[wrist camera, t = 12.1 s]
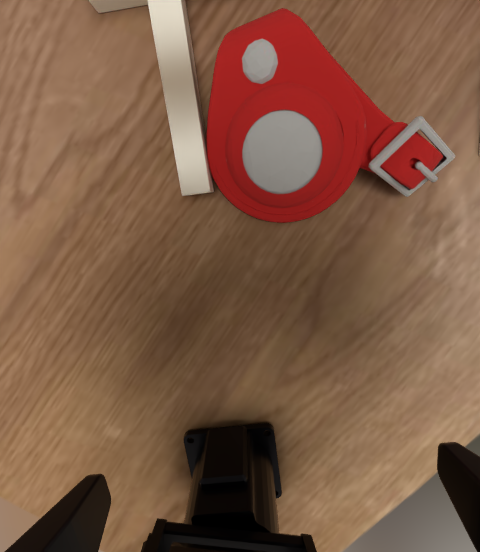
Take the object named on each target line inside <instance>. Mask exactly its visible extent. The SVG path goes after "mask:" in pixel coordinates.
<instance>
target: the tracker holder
mask: <svg viewBox="0 0 480 552" xmlns="http://www.w3.org/2000/svg"><path fill="white" fill-rule="evenodd" d="M419 129H420V130H421V131H422V132H423V133H424V134H425V135H426V136H427V138H428V139H429V140H430V141H431V142H432V143H433V144H434V145H435V147H436V148H437V149H438V150H439V151H440V152H441V153H442V154H441V153H440V152H439V151H438V150H437V149H436V148H435V147H434V146H433V145H431V144H430V143H429V142H428V141H427V140H426V139H424V138H423V137H422V136H421V135H420V134H418V133H417V132H416V131H417V130H419ZM207 158H208V164H209V168H210V171H211V174H212V177H213V179H214V181H215V182H216V184H217V186H218V187H219V189H220V191H221V192H222V193H223V194H224V196H225V197H226V198H227V199H228V200H229V201H230V202H231V203H232V204H233V205H234V206H235V207H237V208H239V209H240V210H242V211H243V212H245V213H247V214H249V215H251V216H252V217H255V218H258V219H261V220H265V221H270V222H280V223H285V222H294V221H299V220H303V219H307V218H309V217H311V216H314V215H316V214H318V213H320V212H322V211H323V210H325V209H327V208H328V207H329V206H331V205H332V204H333V203H334V202H336V201H337V200H338V199H339V198H340V197H341V196H342V195H343V194H344V192H345V191H346V190H347V189H348V187H349V186H350V185H351V183H352V181H353V180H354V178H355V176H356V174H357V172H358V170H359V168H362V169H365V170H368V171H370V172H373V173H375V174H377V175H378V176H380V177H381V178H382V179H384V180H385V181H386V182H387V183H389V184H390V185H391V186H393V187H394V188H395V189H396V190H398V191H399V192H400V193H402V194H403V195H404V196H406V197H407V196H410V195H411V194H412V193H413V192H414V191H416V190H417V189H418V188H419V187H421V186H422V185H423V184H424V183H425V182H427V181H428V180H430V181H431V182H435V181H437V179H438V178H437V176H436V175H435V174H436V173H437V172H439V171H440V170H441V169H442V168H443V167H445V166H446V165H447V164H448V163H449V162H451V161H452V160H453V159H454V158H455V155H454V153H453V152H452V151H451V150H450V149H449V148H448V146H447V145H446V144H445V143H444V142H443V140H442V139H441V138H440V137H439V136H438V135H437V133H436V132H435V131H434V130H433V129H432V128H431V126H430V125H429V124H428V123H427V122H426V121H425V119H424V118H423V117H422V116H418V117H416V118H415V119H414V120H413V121H412V122H411V123H410V124H409V125H408V124H406V123H403V122H396V123H395V122H393V121H392V120H391V119H390V118H389V117H388V116H386V115H385V114H384V113H383V112H382V111H380V110H379V109H378V107H377V106H376V105H375V104H374V103H373V102H372V101H371V100H370V98H369V97H368V96H367V95H366V94H365V93H364V92H363V91H362V89H361V88H360V87H359V86H358V85H357V84H356V83H355V82H354V80H353V79H352V78H351V77H350V76H349V75H348V74H347V73H346V72H345V70H344V69H343V68H342V67H341V66H340V65H339V64H338V63H337V61H336V60H335V59H334V58H333V57H332V56H331V55H330V54H329V52H328V51H327V50H326V49H325V47H324V46H323V45H322V43H321V42H320V41H319V40H318V38H317V37H316V36H315V34H314V33H313V32H312V30H311V29H310V28H309V27H308V26H307V25H306V23H305V22H304V21H303V20H302V19H301V18H300V17H299V16H297V15H295V14H294V13H292V12H291V11H289V10H287V9H283V8H282V9H279V10H277V11H275V12H272V13H270V14H268V15H265V16H263V17H261V18H258V19H256V20H254V21H251V22H249V23H247V24H244V25H242V26H240V27H237V28H235V29H233V30H231V31H230V32H229V33H228V34H227V35H225V37H224V39H223V41H222V43H221V45H220V47H219V50H218V53H217V58H216V63H215V68H214V75H213V82H212V89H211V96H210V103H209V110H208V123H207ZM404 185H405V186H404Z"/></svg>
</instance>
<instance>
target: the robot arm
mask: <svg viewBox="0 0 480 552" xmlns="http://www.w3.org/2000/svg"><path fill="white" fill-rule="evenodd" d="M266 430H269V432H265V431H266ZM190 438H193V439H190ZM184 445H185V449H186V454H187V458H188V463H189V467H190V472H191V476H192V483H191V488H190V494H189V499H188V504H187V510H186V515H185V520H184V523H175V522H167V520H166V519H157V521H156V523H155V526H154V529H153V532H152V533H149V536H148V538H147V541H145V542H144V543H143V546H142V550H141V552H317V551H316V548H315V545H314V542H313V539H312V536H311V535H308V534H301V536H298V535H289V534H279V525H278V515H277V505H276V498H279V497H280V496H281V494H282V491H281V483H280V475H279V467H278V459H277V451H276V443H275V435H274V428H273V426H272V425H271V424H269V423H264V424H253V425H243V426H232V427H222V428H212V429H201V430H191V431H188V432H186V434H185V436H184ZM437 470H438V474H439V477H440V479H441V481H442V483H443V485H444V487H445V489H446V491H447V493H448V495H449V497H450V499H451V501H452V503H453V505H454V507H455V509H456V511H457V513H458V515H459V517H460V519H461V521H462V523H463V525H464V527H465V529H466V531H467V533H468V535H469V537H470V539H471V541H472V543H473V545H474V547H475V548H476V550H477V552H480V456H478V455H476V454H475V453H473V452H472V451H470V450H468V449H467V448H465V447H464V446H462V445H460V444H459V443H456V442H448V443H441V444H439V446H438V459H437ZM110 505H111V495H110V492H109V489H108V486H107V483H106V479H105V477H104V475H103V474H93V475H88V476H86V477H85V478H84V479H83V480H82V481H81V482H79V483H78V484H77V485H76V486H75V487H74V488H73V489H72V490H71V491H70V492H69V493H68V494H67V495H65V496H64V497H63V498H62V499H61V500H60V501H59V502H58V503H57V504H56V505H55V506H54V507H52V508H51V509H50V510H49V511H48V512H47V513H46V514H45V515H44V516H43V517H42V518H41V519H39V520H38V521H37V522H36V523H35V524H34V525H33V526H32V527H31V528H30V529H29V530H28V531H27V532H25V533H24V534H23V535H22V536H21V537H20V538H19V539H18V540H17V541H16V542H15V543H14V544H13V545H11V546H10V547H9V548H8V549H7V550H6V551H5V552H98V550H99V546H100V543H101V539H102V535H103V532H104V528H105V524H106V520H107V517H108V513H109V509H110Z"/></svg>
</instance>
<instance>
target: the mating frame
mask: <svg viewBox="0 0 480 552" xmlns="http://www.w3.org/2000/svg"><path fill="white" fill-rule="evenodd" d="M88 1H89V2H90V3H91V4H92V5H93V7H94V8H95V9H96V10H97V12H98V13H104V12H110V11H115V10H121V9H127V8H133V7H138V6H144V5H148V6H149V12H150V17H151V23H152V29H153V34H154V40H155V46H156V51H157V57H158V63H159V68H160V74H161V80H162V85H163V91H164V97H165V102H166V108H167V114H168V119H169V125H170V131H171V136H172V142H173V148H174V153H175V159H176V165H177V170H178V176H179V182H180V187H181V193H182V196H187V195H195V194H203V193H210V192H214V188H213V181H212V175H211V171H210V168H209V164H208V158H207V141H206V135H205V128H204V121H203V114H202V108H201V101H200V94H199V88H198V81H197V74H196V68H195V61H194V54H193V48H192V41H191V34H190V27H189V21H188V14H187V7H186V1H185V0H88ZM479 155H480V145H479Z"/></svg>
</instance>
